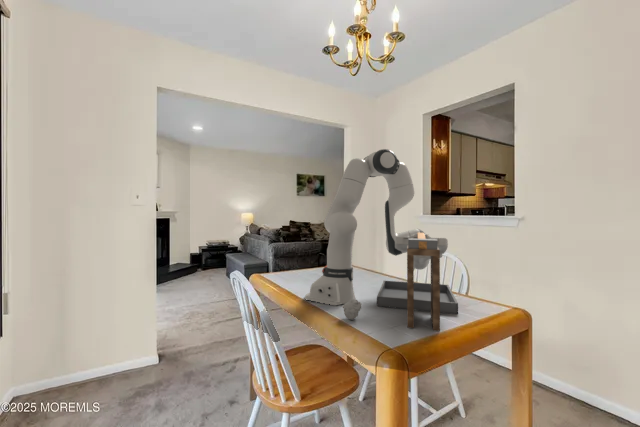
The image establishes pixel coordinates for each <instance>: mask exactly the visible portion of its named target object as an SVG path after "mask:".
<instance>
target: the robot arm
mask: <svg viewBox="0 0 640 427" xmlns="http://www.w3.org/2000/svg"><path fill="white" fill-rule="evenodd" d="M376 177H383V178H384V179H385V181H386V183H387V187H388V188H387V189H388V193H389V194H388V197H387V198H388V199H387V200H386V201H385V203H384V220H385V222H384V223H385V233H386V235H385V236H386V237H385V239H386V240H385V246H386V250H387V251H388V252H387V253H389V254H391V255H392V256H396V257H397V256H399V255H402V254H405V253H406V254H407V246H408V238H416V239H418V234H417V233H424V234H425V238H426V239H437V240H438V245H437V247H438V249H439V250H440V259H441V258H442V257H443V255H444V254H445V253H446V252H447V250H448V245H449V243H448V239H447V238H446V237H431V236H430V235H429V234H428V233H426V232H424V231H423V230H421V229H419V228H416V229H415V228H414V229H410V230H405V231H402V232H401V231H400V232H397V233H396V229H395V215H396V214H397V212H398V211H400V210H401V209H403V208H404V207H405V206H407V205H409V203H410V202H411V201H412V200H413V198H414V196H415V188H414V183H413V179H412V176H411V174H410V171H409V169H408V166H407V165H406V164H405V163H404V162H400V160H399V159H398V157H397V156H396V154H395V152H393V151H392V150H390V149H388V148H387V149H386V148H383V149H379V150H377V151H373V152H372V153H370V154H369V155H367V156H366V157H364V158H363V159H362V158H353V159H351V160H350V161H349V162H348V164H347V165H346V168H345V170H344V172H343V174H342V176H341V180H340V182H339V185H338V189H337V191H336V194H335V196H334V199H333V201H332V202H331V204H330V207H329V209H328V211H327V213H326V216H325V217H324V222H323V225H324V228H325V230H326V231H327V233H328V234H329V237H328V245H327V248H326V265H325V266H324V267H323V268H322V270H321V273H322V276H319V278H317V279H316V280H315V281H313V283H312V284H311V286H310V287H309V288H310V289H309V292H308V293H307V294H305V296H304V300H305V299H307V300H311V301H316V302H315V303H317V302H320V303H319V304H323V303H325V304H324V305H329V304H330V306H338V305H339V306H340V305H344V304H345V303H347V302H349V301H351V300H352V299H356V298H357V297H356V295H355V291H354V283H353V280H354V268H353V246H354V245H353V244H354V239H355V233H356V230H357V227H358V221H357V219H356V217H355V216H354V215H353V214H354V213H355V211H356V210H357V208H358V206H359V205H360V203H361V200H362V197H363V194H364V190H365V188H366V185H367V181H368V180H369V178H376ZM430 262H431V256H421V255H414V269H415V270H424V269H426V268H427V267H428V266H429V264H430ZM356 300H357V299H356ZM311 301H310V302H311Z"/></svg>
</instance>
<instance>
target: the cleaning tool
mask: <svg viewBox="0 0 640 427" xmlns="http://www.w3.org/2000/svg"><path fill="white" fill-rule="evenodd" d="M424 233H425V232H424ZM424 233H417V234H418V239H416V238H408V249H432V250H437V245H438V240H437V239H426V238H425V234H426V233H425V234H424Z"/></svg>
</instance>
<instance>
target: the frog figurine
mask: <svg viewBox="0 0 640 427" xmlns="http://www.w3.org/2000/svg"><path fill="white" fill-rule="evenodd" d="M362 305H363V304H362V303H361V301H359V300H358V299H352V300H351V301H349V302H347V303H345V304H342V306H341V308H342V309H343V313H344V317H346V319H347V320H350V321H351V320H352V321H353V320H355V319H356V318H357V317H358V316H359V311H360V310H361V309H362Z"/></svg>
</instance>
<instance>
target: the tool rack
mask: <svg viewBox="0 0 640 427" xmlns="http://www.w3.org/2000/svg"><path fill="white" fill-rule="evenodd" d="M414 255H421V256H431V259H430V284H431V311H430V319H431V326H432V330H433V331H434V332H435V331H437V332H440V331H441V312H440V284H441V277H440V276H441V271H440V270H441V258H440V250H439V249H438V247H437V250H432V249H408V246H407V252H406V260H407V261H406V270H407V271H406V274H407V275H406V278H407V279H406V280H407V281H406V282H407V309H406V312H407V313H406V314H407V315H406V316H407V317H406V318H407V320H406V321H407V324H406V325H407V328H410V329H414V328H415V327H414V326H415V322H414V320H415V318H414V317H415V315H414V314H415V310H414V283H415V282H414V278H415V277H414V276H415V275H414V271H415V270H414V269H415V268H414Z"/></svg>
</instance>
